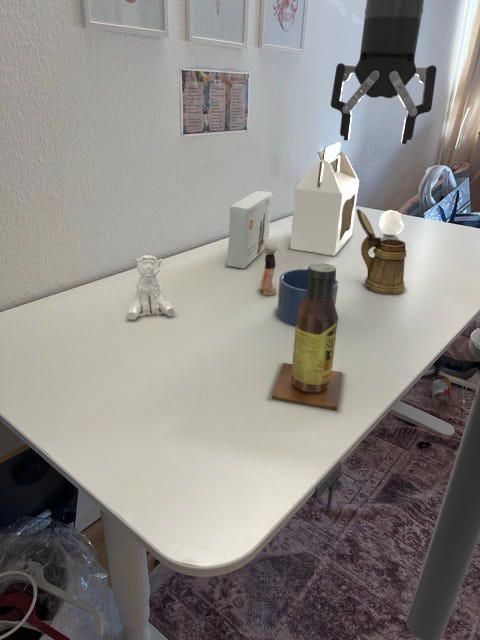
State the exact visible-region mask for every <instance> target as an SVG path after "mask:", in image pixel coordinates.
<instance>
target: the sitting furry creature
mask: <svg viewBox="0 0 480 640" xmlns="http://www.w3.org/2000/svg"><path fill="white" fill-rule="evenodd" d="M133 260H134V262H135V264H136V270H137V272H138V275H140V277H139V278H138V279H137V283H136V285H135V288H136V291H135V294H134V295H135V296H134V297H133V300H134V301H133V303H132V304H131V305H130V306H129V307H128V308H129V309H128V310H127V314H126V317H127V319H129V320H131V321H135V320H137V318H140V317H147V316H150V315H152V316H157V315H166V316H167V317H168V318H171V317H173V316H174V314H175V309H174V306H172V303H170V302H169V301H168V300H166V298H165V296H164V295H163V293H162V291H161V287H160V285H161V284H160V282H159V280H158V279H157V275H158V274H159V273H160V271H161V270H160V267H161V264H162V261H163V258H160V259H158V258H157V257H156V256H153V255H151V254H147V255H142V256H140V258H137V257H133Z"/></svg>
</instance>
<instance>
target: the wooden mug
mask: <svg viewBox="0 0 480 640" xmlns="http://www.w3.org/2000/svg"><path fill="white" fill-rule="evenodd" d="M356 216H357V219H358V221H359V223H360V225H361V227H362V229H363V231H364V233H365V234H366V235H367V236H366V237H365V238H364V239H363V241H362V242H361V247H360V254H361V256H362V259H363V262H364V263H365V266H366V269H367V276H366V277H365V280H364V284H365V286H366V288H367V289H368V290H370V291H372V292H375V293H378V294H382V295H396V294H401V293H402V292H404V291H405V280H404V277H405V263H406V262H405V261H406V260H405V259H406V257H407V249H406V242H405V241H403V240H400V239H396V238H385V239H382V238H381V237H379V236H376V233H375V232H374V229H373V226H372V224H371V222H370V220H369V218H368V217H367V215H366V213H364V212H363V211H362V210H360V209H359V208H357V209H356ZM371 248H374V249H373V254H374V256H371V255H370V254H369V251H370V249H371Z"/></svg>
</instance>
